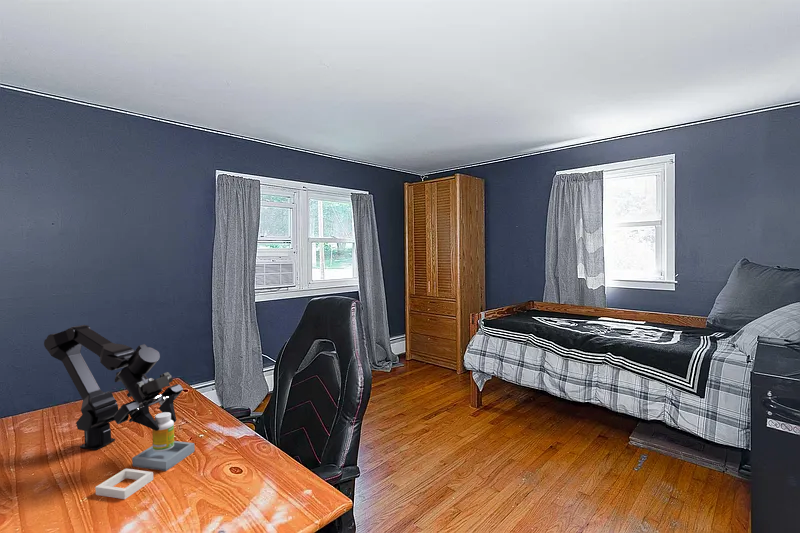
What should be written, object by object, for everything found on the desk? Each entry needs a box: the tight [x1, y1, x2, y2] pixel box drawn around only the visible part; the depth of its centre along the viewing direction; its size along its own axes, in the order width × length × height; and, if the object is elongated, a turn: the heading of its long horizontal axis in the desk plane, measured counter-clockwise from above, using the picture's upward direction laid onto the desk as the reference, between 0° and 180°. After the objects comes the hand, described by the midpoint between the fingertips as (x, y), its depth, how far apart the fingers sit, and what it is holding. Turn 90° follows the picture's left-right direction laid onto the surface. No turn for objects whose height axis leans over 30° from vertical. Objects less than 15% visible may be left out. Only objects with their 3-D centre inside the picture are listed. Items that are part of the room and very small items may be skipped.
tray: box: [131, 440, 196, 472], centre depth 117 cm, size 11×11×2 cm
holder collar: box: [95, 468, 154, 500], centre depth 104 cm, size 9×9×2 cm
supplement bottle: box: [151, 412, 175, 452], centre depth 117 cm, size 5×5×10 cm
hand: (166, 425), depth 117 cm, fingers closed on supplement bottle, 5 cm apart
